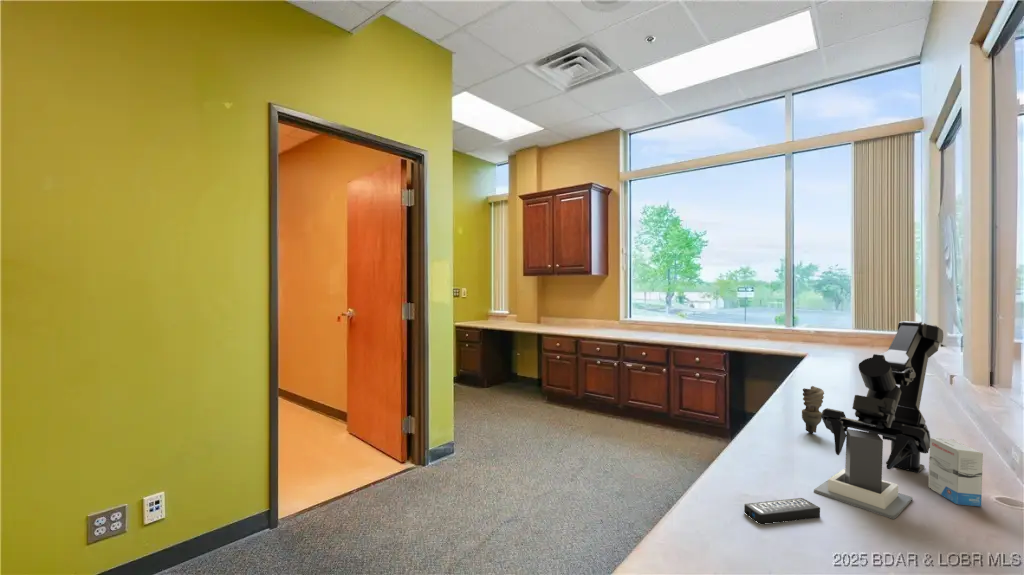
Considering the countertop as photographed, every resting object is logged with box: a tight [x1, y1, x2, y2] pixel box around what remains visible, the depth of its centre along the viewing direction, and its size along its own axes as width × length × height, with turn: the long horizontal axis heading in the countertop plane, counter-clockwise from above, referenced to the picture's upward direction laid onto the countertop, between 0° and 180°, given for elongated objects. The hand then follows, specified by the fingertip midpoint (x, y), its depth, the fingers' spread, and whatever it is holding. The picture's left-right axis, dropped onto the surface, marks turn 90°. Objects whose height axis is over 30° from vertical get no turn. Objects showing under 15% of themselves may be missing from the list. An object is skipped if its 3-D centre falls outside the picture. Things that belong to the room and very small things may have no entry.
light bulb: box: [801, 385, 825, 434], centre depth 139 cm, size 6×6×15 cm
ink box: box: [928, 437, 984, 507], centre depth 99 cm, size 8×5×12 cm, turn 168°
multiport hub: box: [743, 497, 821, 525], centre depth 89 cm, size 4×14×2 cm, turn 103°
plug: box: [844, 428, 884, 494], centre depth 98 cm, size 6×6×13 cm
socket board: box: [813, 468, 913, 520], centre depth 98 cm, size 14×14×3 cm
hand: (861, 460), depth 98 cm, fingers open, 9 cm apart
